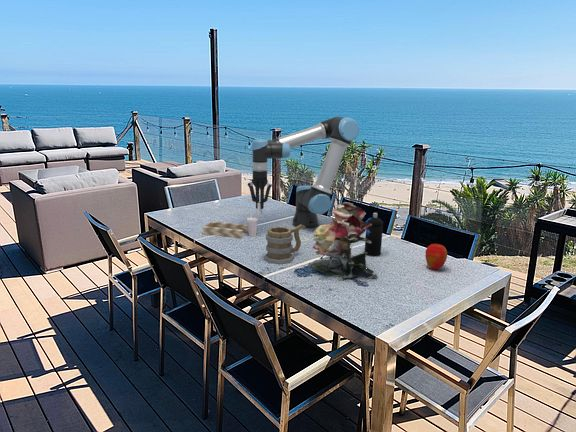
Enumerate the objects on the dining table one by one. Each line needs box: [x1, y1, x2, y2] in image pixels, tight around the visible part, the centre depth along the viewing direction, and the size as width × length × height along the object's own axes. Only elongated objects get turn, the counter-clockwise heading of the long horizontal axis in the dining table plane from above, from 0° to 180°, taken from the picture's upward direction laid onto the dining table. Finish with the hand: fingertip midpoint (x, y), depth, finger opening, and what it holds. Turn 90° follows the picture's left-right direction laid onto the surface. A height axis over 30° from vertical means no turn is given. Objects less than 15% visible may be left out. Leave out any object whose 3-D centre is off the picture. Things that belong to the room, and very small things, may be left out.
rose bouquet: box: [311, 201, 386, 281], centre depth 187 cm, size 26×29×30 cm
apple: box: [425, 243, 448, 271], centre depth 191 cm, size 9×9×12 cm
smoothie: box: [246, 209, 259, 238], centre depth 232 cm, size 6×6×14 cm
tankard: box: [263, 224, 306, 265], centre depth 201 cm, size 20×13×15 cm, turn 117°
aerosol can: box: [363, 212, 384, 257], centre depth 208 cm, size 8×8×20 cm
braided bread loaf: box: [202, 220, 249, 239], centre depth 237 cm, size 22×12×4 cm, turn 75°
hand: (259, 214), depth 230 cm, fingers closed
